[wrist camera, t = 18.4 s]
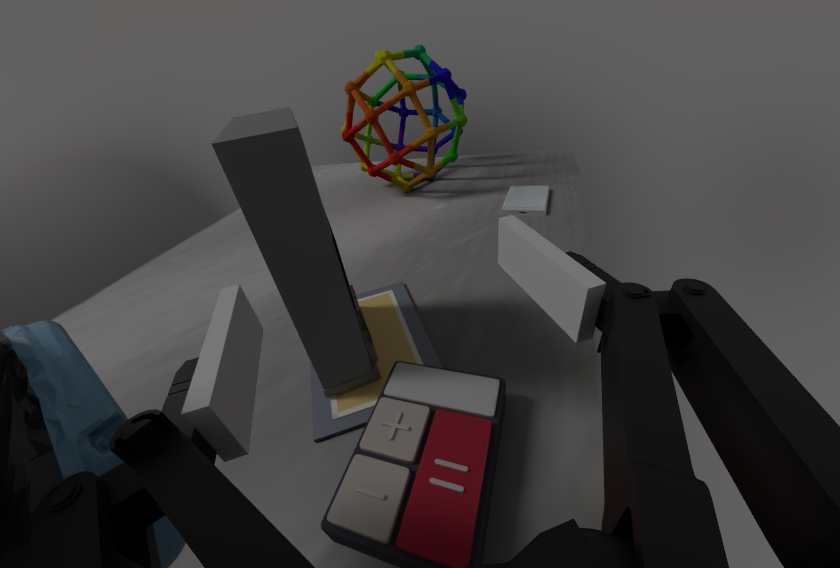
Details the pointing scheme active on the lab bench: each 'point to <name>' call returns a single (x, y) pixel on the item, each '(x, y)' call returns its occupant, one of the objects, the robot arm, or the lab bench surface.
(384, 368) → the picture board
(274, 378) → the lab bench surface
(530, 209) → the hard drive
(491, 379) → the calculator
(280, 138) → the grey instrument box
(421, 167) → the geometric model
